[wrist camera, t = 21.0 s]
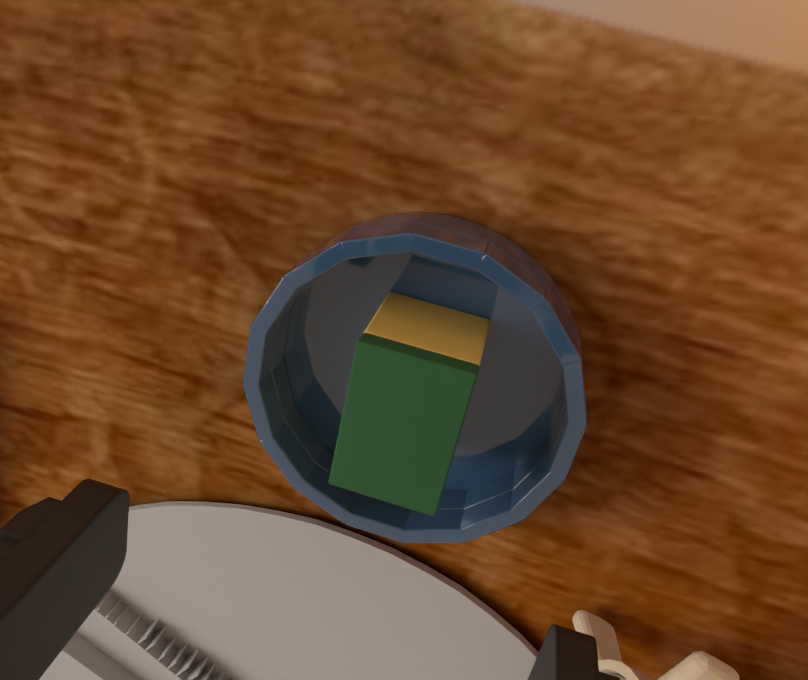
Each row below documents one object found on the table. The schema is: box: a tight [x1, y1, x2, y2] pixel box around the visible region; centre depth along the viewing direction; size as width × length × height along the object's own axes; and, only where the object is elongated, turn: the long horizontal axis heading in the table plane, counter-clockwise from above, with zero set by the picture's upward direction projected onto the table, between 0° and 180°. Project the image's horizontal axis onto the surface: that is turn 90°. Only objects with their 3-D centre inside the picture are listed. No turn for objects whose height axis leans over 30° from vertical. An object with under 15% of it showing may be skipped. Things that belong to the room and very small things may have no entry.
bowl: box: [243, 212, 588, 543], centre depth 21 cm, size 9×9×2 cm
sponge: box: [329, 292, 490, 516], centre depth 20 cm, size 4×3×4 cm
